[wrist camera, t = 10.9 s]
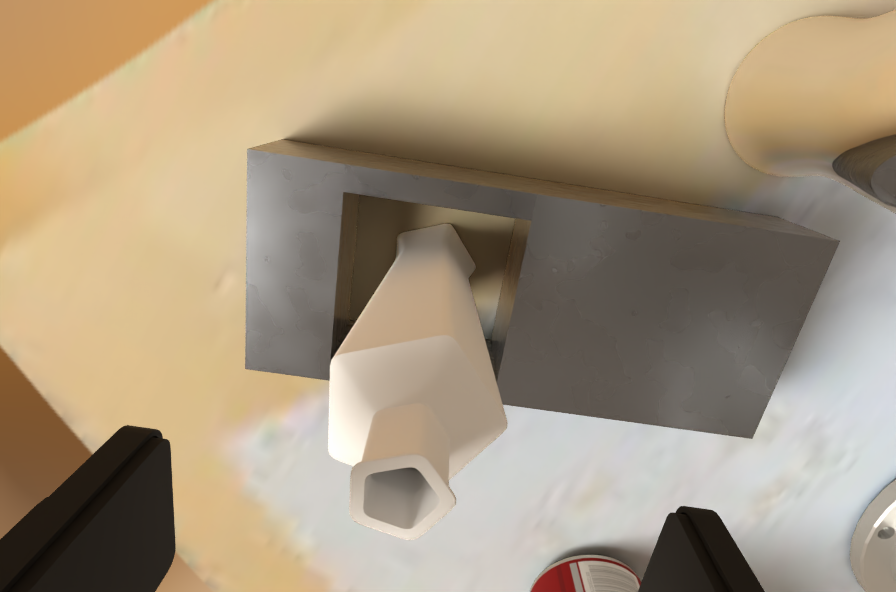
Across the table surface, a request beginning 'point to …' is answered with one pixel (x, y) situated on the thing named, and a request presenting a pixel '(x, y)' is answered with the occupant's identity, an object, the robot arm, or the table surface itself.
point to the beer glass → (821, 103)
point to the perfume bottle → (414, 388)
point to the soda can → (587, 576)
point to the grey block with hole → (548, 286)
